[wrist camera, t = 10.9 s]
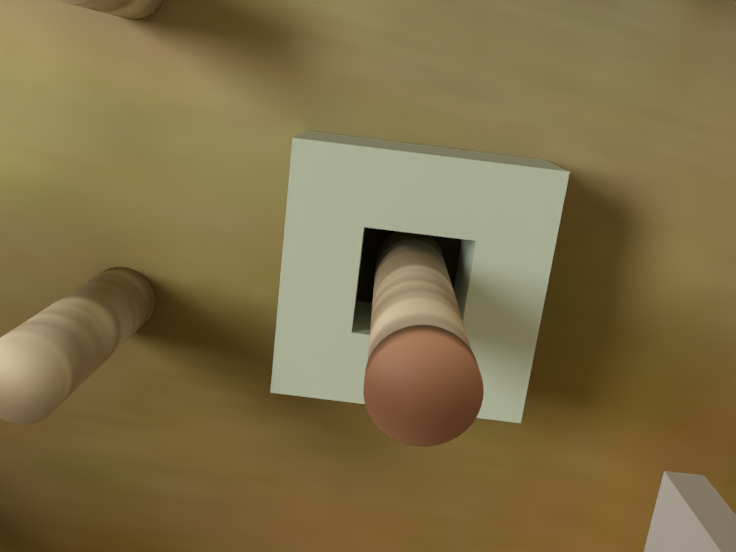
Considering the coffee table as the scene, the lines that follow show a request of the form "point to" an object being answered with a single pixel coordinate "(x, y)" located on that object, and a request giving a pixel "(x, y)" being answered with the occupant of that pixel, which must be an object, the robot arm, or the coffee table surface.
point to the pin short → (120, 7)
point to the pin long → (418, 347)
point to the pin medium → (69, 342)
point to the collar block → (421, 216)
